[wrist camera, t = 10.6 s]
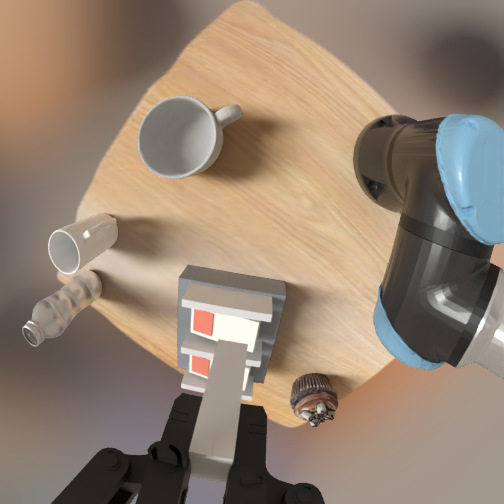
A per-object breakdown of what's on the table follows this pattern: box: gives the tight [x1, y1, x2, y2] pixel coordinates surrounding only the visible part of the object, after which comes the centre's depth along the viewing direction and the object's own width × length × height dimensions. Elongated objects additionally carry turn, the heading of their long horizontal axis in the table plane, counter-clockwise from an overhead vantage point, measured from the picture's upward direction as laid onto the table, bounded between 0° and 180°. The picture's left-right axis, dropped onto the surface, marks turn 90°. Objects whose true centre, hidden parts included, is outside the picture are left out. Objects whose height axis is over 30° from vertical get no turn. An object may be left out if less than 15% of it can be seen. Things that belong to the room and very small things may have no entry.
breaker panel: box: [177, 265, 286, 401], centre depth 42 cm, size 16×19×10 cm
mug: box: [48, 213, 118, 275], centre depth 37 cm, size 10×7×12 cm, turn 117°
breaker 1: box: [191, 309, 261, 353], centre depth 38 cm, size 10×6×2 cm, turn 81°
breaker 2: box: [189, 355, 251, 391], centre depth 41 cm, size 10×6×2 cm, turn 81°
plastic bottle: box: [22, 270, 102, 347], centre depth 37 cm, size 6×7×20 cm
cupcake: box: [289, 373, 338, 427], centre depth 47 cm, size 10×10×10 cm
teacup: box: [138, 96, 243, 179], centre depth 33 cm, size 14×11×8 cm
